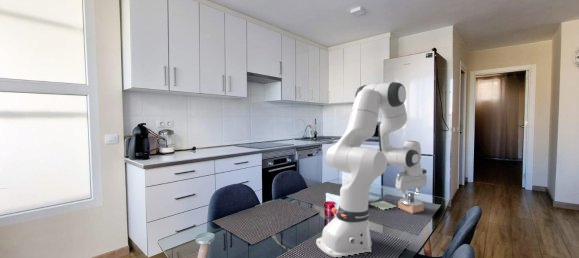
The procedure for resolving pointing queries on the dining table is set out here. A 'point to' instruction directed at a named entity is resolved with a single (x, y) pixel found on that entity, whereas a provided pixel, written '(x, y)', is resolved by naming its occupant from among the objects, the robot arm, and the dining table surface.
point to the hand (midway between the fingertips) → (410, 195)
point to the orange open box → (411, 208)
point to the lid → (411, 200)
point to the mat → (382, 205)
